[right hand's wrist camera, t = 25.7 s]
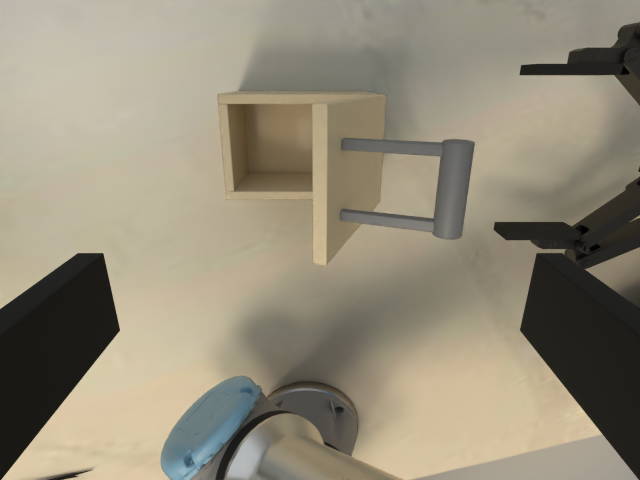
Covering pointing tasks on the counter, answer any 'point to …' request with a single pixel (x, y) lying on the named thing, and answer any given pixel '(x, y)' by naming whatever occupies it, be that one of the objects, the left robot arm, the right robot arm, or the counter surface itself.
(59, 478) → the feather
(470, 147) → the lid
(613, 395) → the right robot arm
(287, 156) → the chest
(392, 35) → the counter surface
